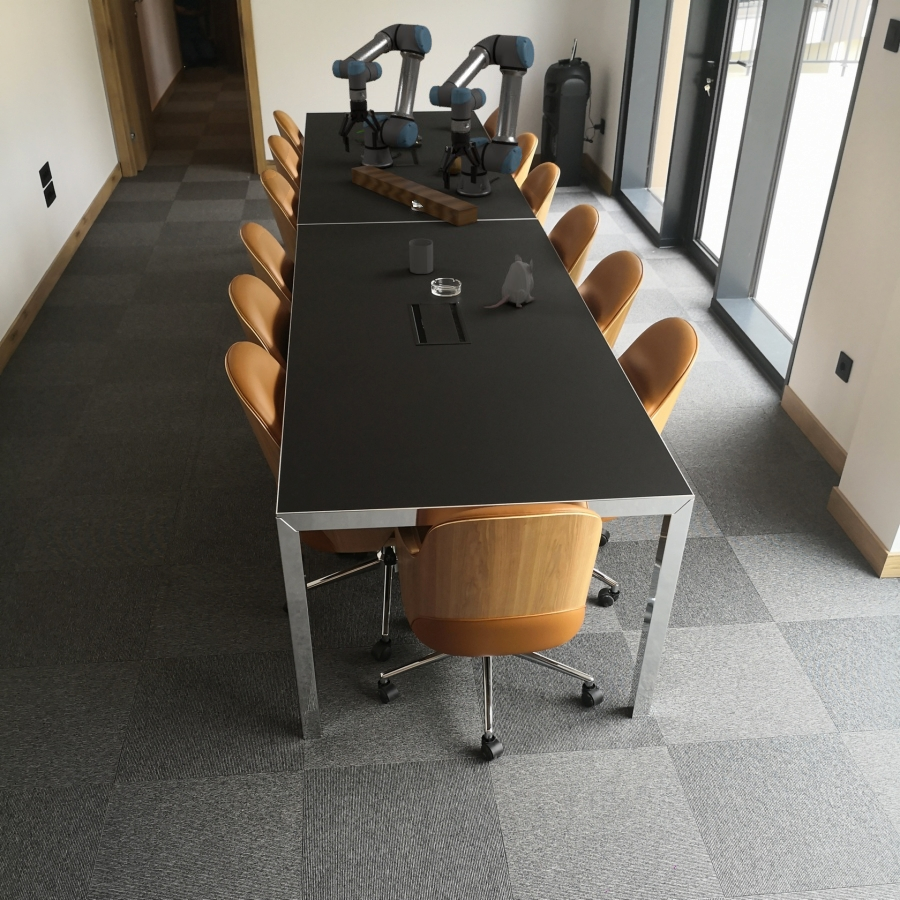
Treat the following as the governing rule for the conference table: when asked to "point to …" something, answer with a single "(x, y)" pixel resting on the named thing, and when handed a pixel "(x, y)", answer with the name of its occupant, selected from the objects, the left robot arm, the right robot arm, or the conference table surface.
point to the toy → (517, 283)
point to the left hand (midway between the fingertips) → (361, 149)
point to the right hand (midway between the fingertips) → (460, 186)
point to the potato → (456, 166)
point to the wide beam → (415, 195)
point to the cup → (421, 256)
